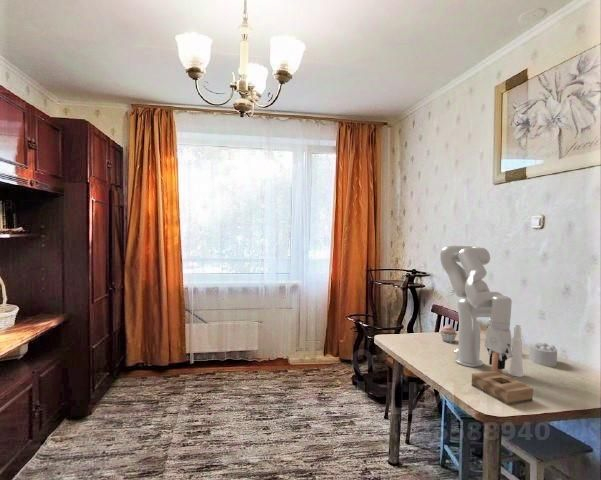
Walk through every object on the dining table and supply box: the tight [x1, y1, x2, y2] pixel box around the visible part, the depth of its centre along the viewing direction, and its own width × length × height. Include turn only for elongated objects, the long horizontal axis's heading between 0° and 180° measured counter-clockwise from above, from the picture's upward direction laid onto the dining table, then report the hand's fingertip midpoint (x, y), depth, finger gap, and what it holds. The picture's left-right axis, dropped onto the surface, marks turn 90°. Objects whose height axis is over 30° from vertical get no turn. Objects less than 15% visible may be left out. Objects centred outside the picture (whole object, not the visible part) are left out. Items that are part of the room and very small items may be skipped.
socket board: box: [470, 370, 534, 406], centre depth 150 cm, size 18×12×5 cm, turn 18°
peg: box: [490, 351, 503, 374], centre depth 164 cm, size 4×4×12 cm
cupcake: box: [439, 323, 458, 343], centre depth 221 cm, size 9×9×10 cm
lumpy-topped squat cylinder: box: [529, 342, 558, 368], centre depth 188 cm, size 10×13×9 cm
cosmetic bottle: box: [508, 324, 525, 378], centre depth 170 cm, size 6×6×22 cm
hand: (496, 366), depth 164 cm, fingers closed on peg, 4 cm apart
